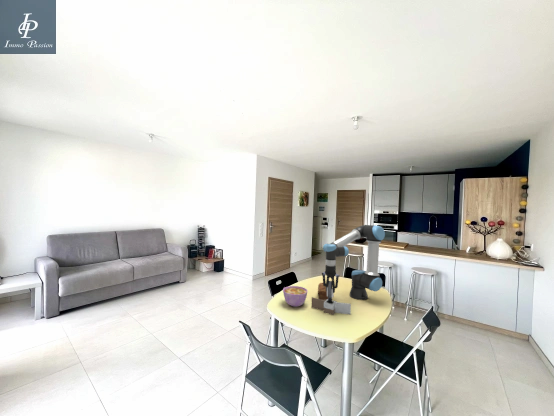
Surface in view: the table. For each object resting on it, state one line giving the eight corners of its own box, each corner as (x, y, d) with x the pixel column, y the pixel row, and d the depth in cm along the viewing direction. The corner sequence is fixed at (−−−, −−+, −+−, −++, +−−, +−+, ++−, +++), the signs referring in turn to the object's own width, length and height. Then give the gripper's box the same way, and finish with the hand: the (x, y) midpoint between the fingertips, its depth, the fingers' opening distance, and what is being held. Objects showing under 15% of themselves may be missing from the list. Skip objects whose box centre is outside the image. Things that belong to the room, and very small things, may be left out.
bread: (318, 292, 202) (318, 281, 202) (330, 293, 199) (330, 282, 200) (317, 299, 184) (317, 288, 184) (330, 301, 181) (330, 289, 182)
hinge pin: (328, 300, 163) (329, 280, 164) (332, 301, 162) (332, 281, 162) (327, 301, 161) (327, 281, 161) (331, 302, 159) (331, 282, 160)
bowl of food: (290, 297, 187) (291, 284, 188) (311, 303, 176) (311, 289, 176) (277, 305, 171) (278, 290, 171) (299, 312, 160) (300, 296, 160)
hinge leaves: (314, 304, 174) (314, 295, 174) (351, 313, 159) (351, 303, 159) (309, 308, 166) (310, 299, 166) (347, 319, 151) (348, 308, 151)
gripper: (318, 264, 163) (318, 295, 163) (339, 267, 155) (339, 300, 154) (322, 262, 170) (321, 292, 169) (342, 265, 161) (342, 297, 161)
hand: (330, 296), depth 162 cm, fingers closed on hinge pin, 3 cm apart
